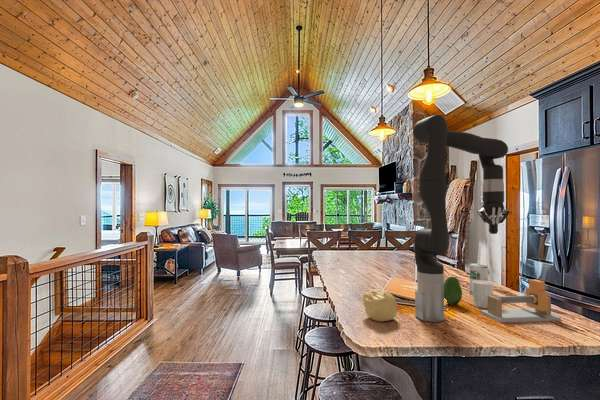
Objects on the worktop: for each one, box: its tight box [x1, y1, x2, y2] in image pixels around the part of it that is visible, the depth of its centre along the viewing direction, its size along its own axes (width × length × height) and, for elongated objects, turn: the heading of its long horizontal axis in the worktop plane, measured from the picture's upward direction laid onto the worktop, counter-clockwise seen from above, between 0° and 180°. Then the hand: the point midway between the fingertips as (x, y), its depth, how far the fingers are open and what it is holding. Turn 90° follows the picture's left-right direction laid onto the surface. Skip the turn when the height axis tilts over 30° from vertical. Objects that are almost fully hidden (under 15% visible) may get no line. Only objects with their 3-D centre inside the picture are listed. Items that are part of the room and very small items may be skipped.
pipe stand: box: [479, 295, 562, 323], centre depth 124 cm, size 24×11×8 cm, turn 96°
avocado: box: [444, 276, 463, 306], centre depth 140 cm, size 8×8×12 cm
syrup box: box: [468, 262, 489, 295], centre depth 156 cm, size 6×6×14 cm
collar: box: [525, 278, 549, 311], centre depth 125 cm, size 3×7×10 cm, turn 6°
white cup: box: [472, 280, 494, 309], centre depth 138 cm, size 8×8×10 cm
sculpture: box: [362, 288, 398, 323], centre depth 121 cm, size 12×12×11 cm
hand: (493, 233), depth 131 cm, fingers closed
